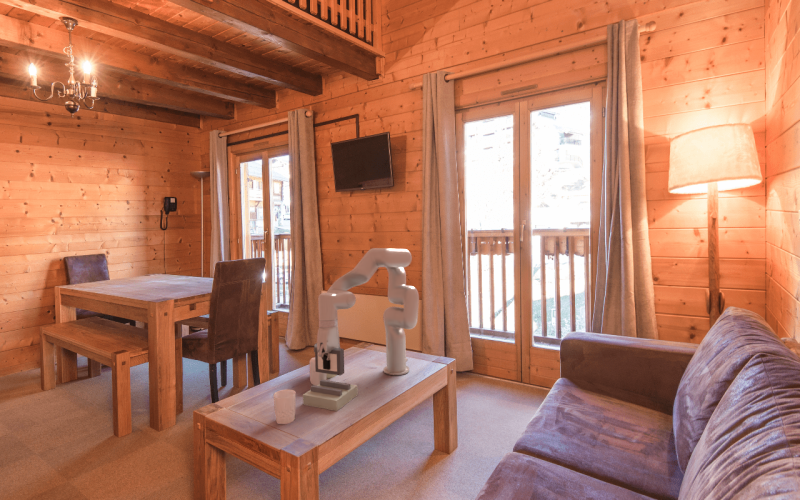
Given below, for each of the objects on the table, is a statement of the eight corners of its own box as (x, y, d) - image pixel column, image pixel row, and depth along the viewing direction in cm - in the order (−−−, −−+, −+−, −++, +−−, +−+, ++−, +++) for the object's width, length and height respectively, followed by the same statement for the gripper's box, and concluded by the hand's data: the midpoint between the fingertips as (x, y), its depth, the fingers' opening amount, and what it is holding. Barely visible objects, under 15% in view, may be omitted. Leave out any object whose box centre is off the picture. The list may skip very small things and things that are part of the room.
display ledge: (325, 389, 175) (325, 376, 174) (357, 394, 168) (357, 380, 168) (303, 404, 160) (302, 389, 160) (337, 411, 154) (336, 395, 153)
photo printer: (308, 383, 183) (307, 356, 182) (317, 380, 185) (316, 354, 185) (319, 389, 175) (318, 362, 174) (328, 387, 177) (327, 359, 177)
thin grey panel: (319, 369, 167) (319, 345, 167) (344, 373, 163) (343, 348, 162) (315, 372, 164) (314, 348, 164) (340, 375, 160) (339, 351, 159)
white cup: (277, 415, 151) (276, 390, 150) (298, 414, 152) (297, 388, 151) (272, 426, 143) (271, 398, 143) (294, 424, 144) (293, 397, 143)
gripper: (331, 318, 171) (333, 360, 172) (308, 327, 156) (309, 373, 157) (346, 319, 168) (347, 362, 169) (324, 328, 153) (325, 375, 154)
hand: (329, 367), depth 163 cm, fingers closed on thin grey panel, 3 cm apart
